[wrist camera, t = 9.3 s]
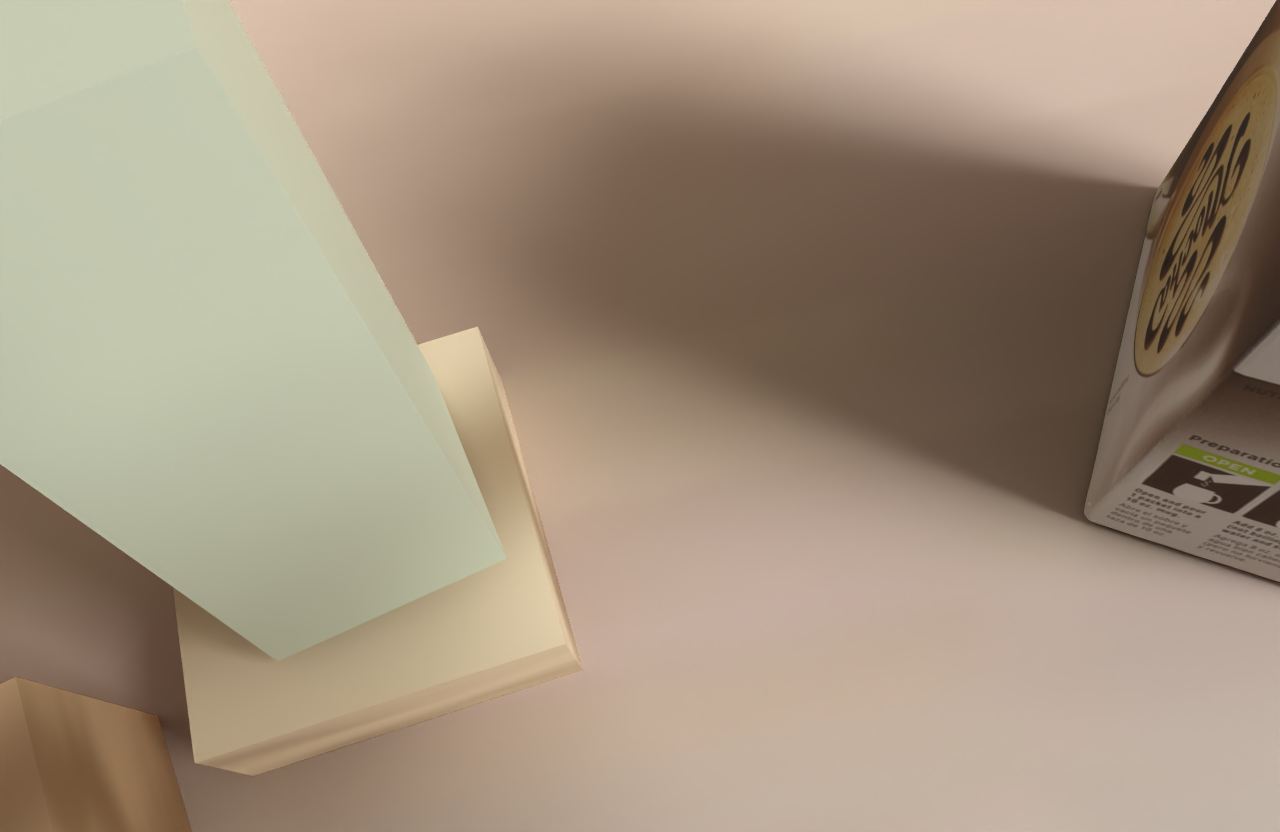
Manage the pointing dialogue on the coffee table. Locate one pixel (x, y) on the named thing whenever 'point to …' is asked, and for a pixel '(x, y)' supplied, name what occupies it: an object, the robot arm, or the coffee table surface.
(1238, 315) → the coffee box
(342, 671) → the maple slab
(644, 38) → the coffee table surface
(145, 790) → the oak cube
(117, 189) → the sage block
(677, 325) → the coffee table surface
